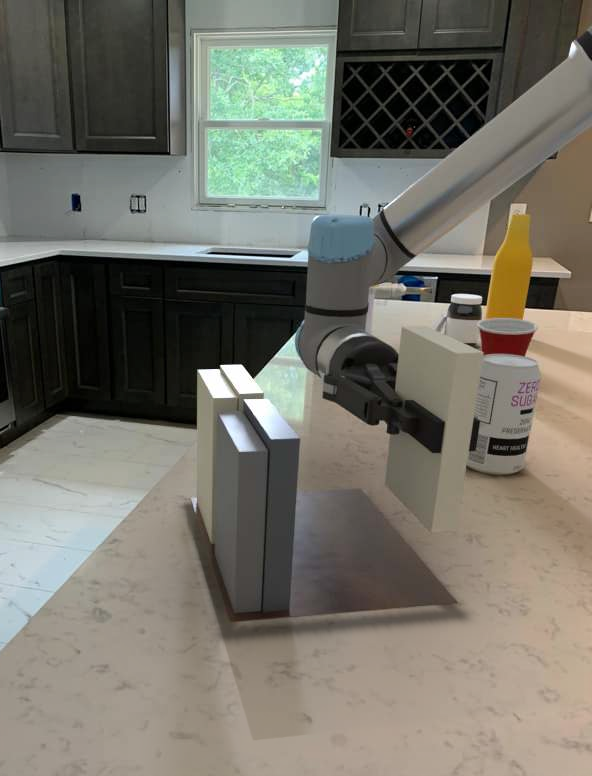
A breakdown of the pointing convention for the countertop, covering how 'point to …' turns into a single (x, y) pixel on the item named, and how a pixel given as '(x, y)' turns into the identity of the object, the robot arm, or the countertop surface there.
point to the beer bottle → (511, 272)
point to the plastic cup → (506, 336)
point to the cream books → (216, 396)
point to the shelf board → (343, 561)
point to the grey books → (256, 505)
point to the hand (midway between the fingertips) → (456, 436)
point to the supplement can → (504, 413)
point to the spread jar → (461, 319)
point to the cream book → (449, 403)
